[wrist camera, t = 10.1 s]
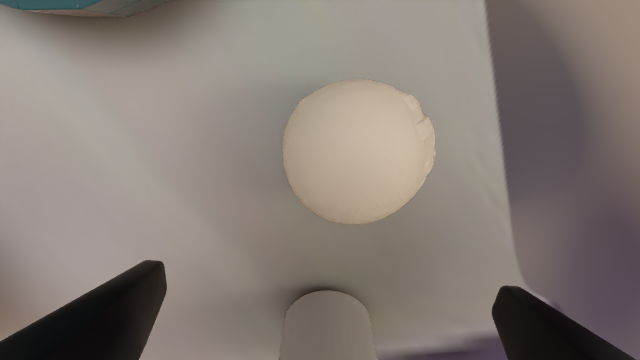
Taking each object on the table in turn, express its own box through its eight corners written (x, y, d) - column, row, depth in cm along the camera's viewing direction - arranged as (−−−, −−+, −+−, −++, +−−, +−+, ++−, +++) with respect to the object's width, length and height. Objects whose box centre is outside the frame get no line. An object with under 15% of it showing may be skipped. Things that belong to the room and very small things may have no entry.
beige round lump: (421, 172, 19) (467, 232, 13) (305, 196, 20) (299, 264, 14) (407, 57, 17) (458, 66, 11) (275, 89, 17) (251, 115, 11)
